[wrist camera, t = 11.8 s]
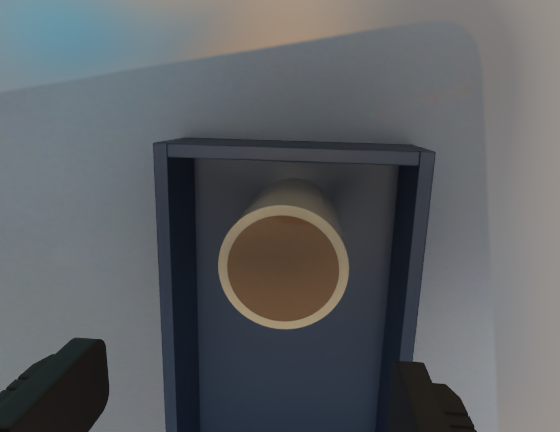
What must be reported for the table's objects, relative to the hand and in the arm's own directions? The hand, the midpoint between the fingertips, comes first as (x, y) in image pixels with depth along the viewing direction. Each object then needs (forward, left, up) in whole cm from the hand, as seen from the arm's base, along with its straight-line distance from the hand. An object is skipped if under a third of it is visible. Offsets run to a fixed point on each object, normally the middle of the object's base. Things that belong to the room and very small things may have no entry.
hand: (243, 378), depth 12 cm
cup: (0, 0, -19) cm, 19 cm away
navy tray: (+6, +5, -19) cm, 21 cm away
